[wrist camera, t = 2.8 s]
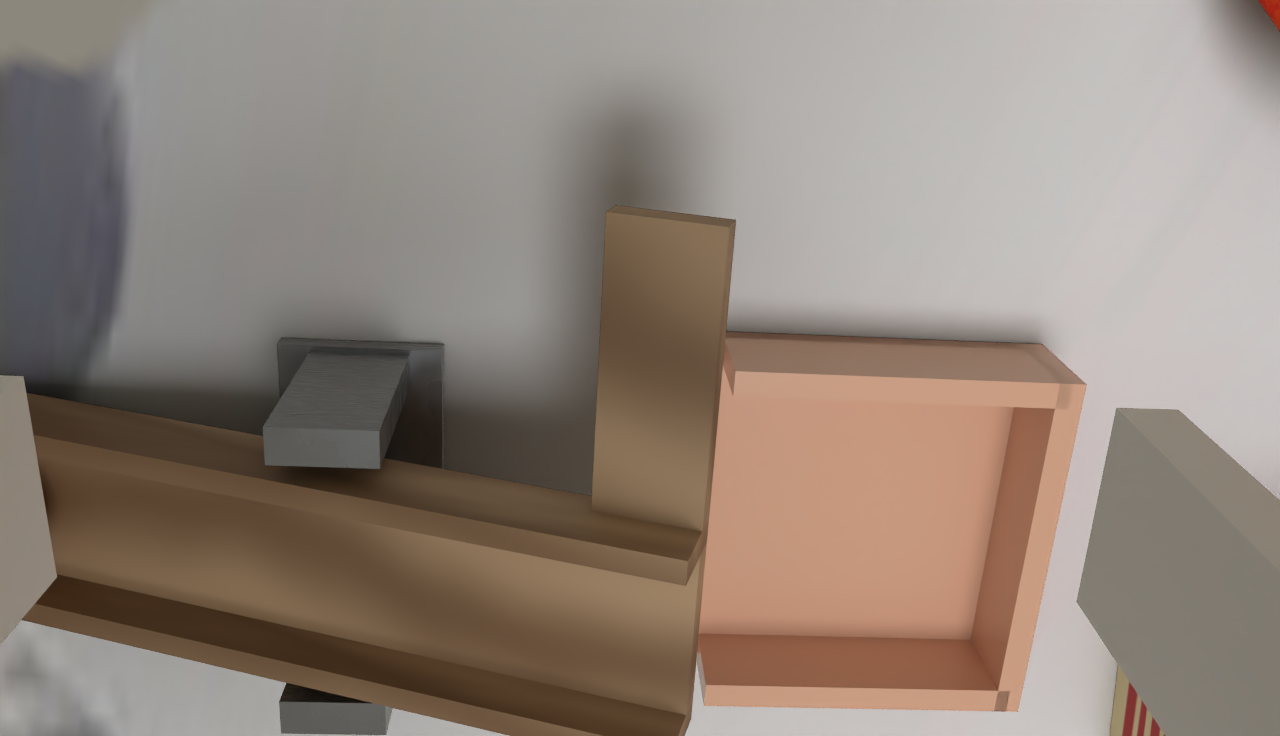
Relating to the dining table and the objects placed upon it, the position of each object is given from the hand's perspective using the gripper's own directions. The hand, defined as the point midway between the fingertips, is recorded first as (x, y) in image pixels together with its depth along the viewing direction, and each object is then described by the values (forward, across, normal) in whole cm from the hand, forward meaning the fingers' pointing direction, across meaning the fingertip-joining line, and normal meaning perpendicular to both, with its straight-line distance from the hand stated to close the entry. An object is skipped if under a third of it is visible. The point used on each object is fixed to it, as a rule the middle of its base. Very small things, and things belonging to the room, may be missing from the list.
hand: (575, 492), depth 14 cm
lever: (+19, +8, +7) cm, 21 cm away
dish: (+22, -8, +12) cm, 26 cm away
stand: (+22, +7, +11) cm, 25 cm away
